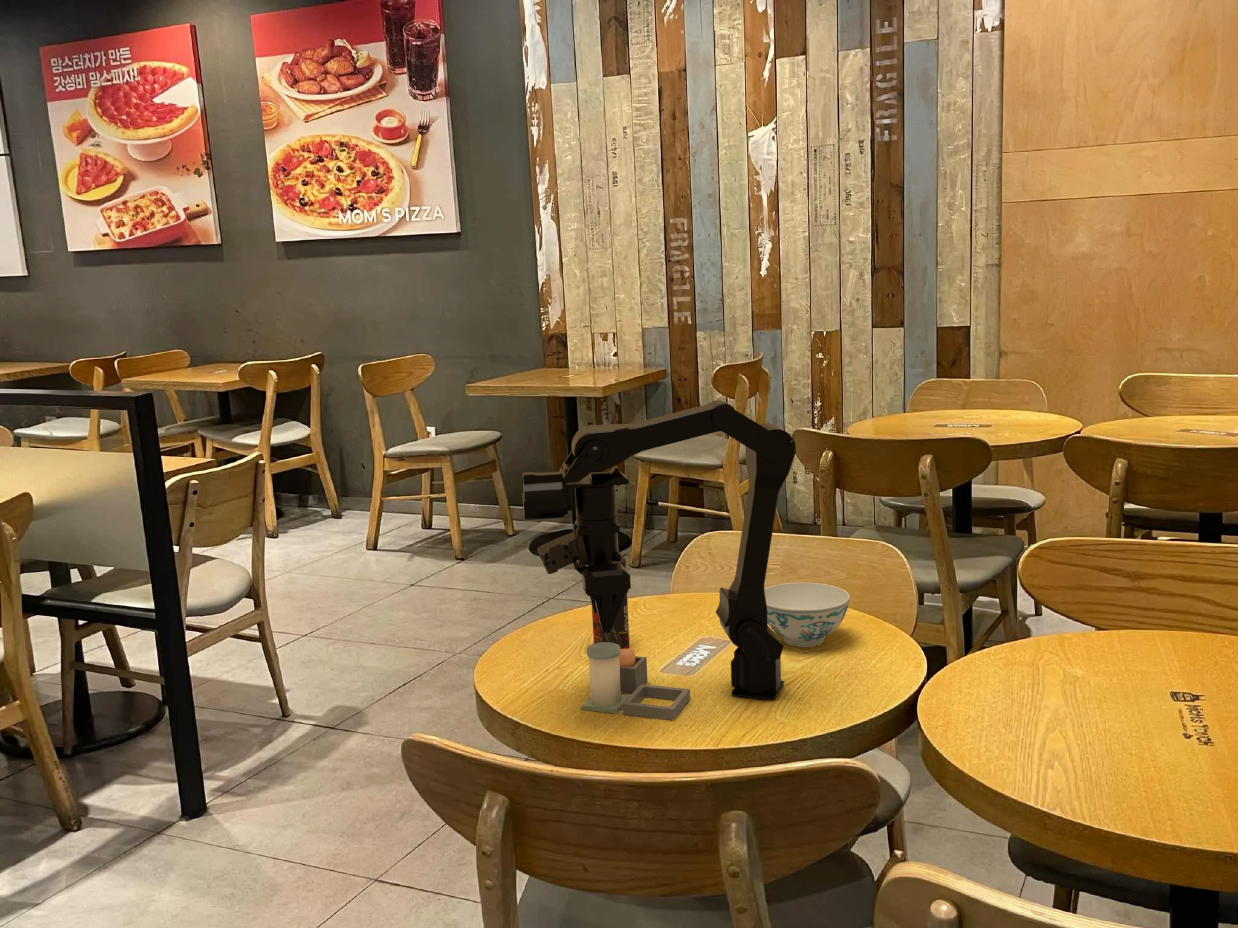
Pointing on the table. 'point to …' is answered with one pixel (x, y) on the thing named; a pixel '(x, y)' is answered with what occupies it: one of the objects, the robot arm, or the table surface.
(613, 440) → the robot arm
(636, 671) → the box
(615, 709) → the coaster
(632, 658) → the button
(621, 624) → the deodorant
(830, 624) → the chinaware
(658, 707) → the socket
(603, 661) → the cylinder
